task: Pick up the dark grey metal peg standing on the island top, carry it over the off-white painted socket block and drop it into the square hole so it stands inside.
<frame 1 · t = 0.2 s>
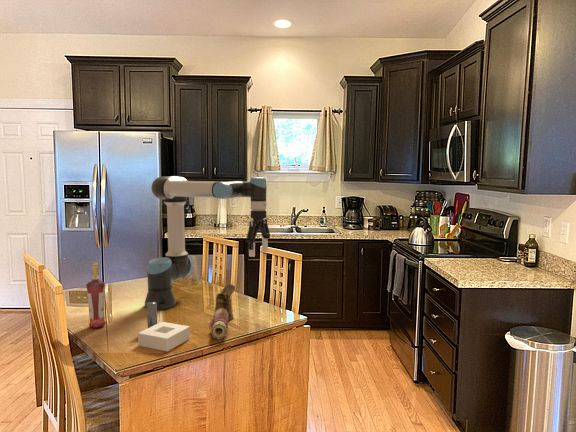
hand: (258, 254, 208), 28 cm above the table, fingers open, 13 cm apart
peg: (152, 330, 184), on the table
liquor: (97, 326, 188), on the table
scroll: (219, 331, 184), on the table
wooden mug: (225, 320, 198), on the table
socket: (164, 341, 171), on the table
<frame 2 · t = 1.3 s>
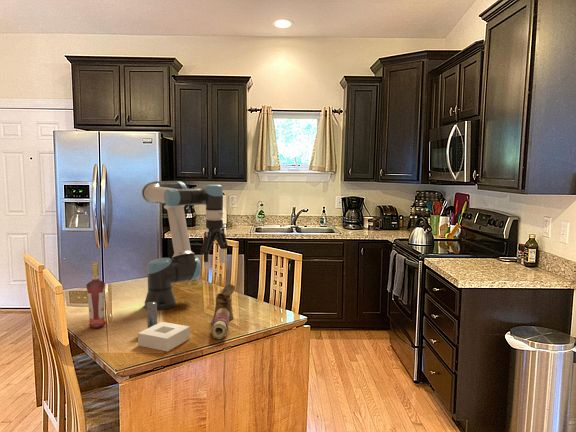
hand: (214, 265, 197), 25 cm above the table, fingers open, 13 cm apart
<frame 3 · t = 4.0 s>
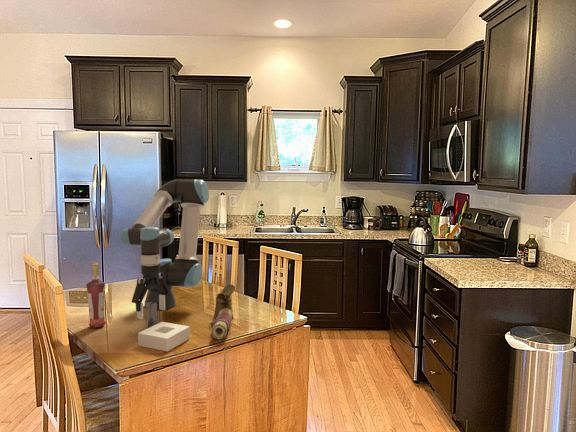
hand: (151, 314, 183), 7 cm above the table, fingers open, 13 cm apart
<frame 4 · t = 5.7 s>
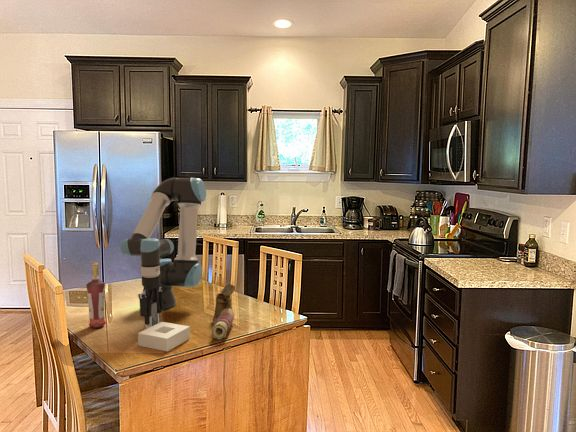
hand: (152, 329, 184), 0 cm above the table, fingers closed on peg, 4 cm apart
peg: (152, 330, 184), on the table, touching gripper
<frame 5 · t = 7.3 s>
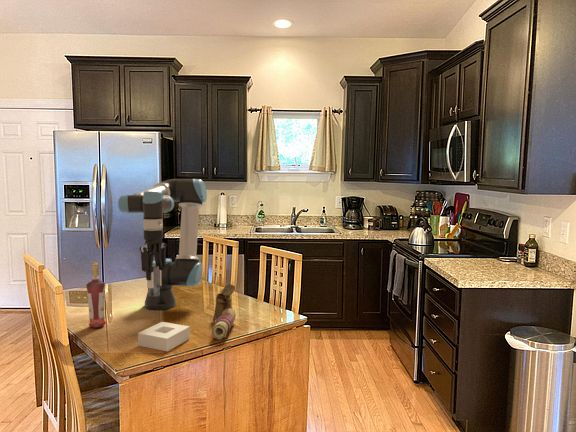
hand: (154, 286, 176), 21 cm above the table, fingers closed on peg, 4 cm apart
peg: (154, 295, 177), point 17 cm above the table, touching gripper
when the fingers open (7 cm above the table, at t = 10.5 s): peg drops 2 cm, resting in socket.
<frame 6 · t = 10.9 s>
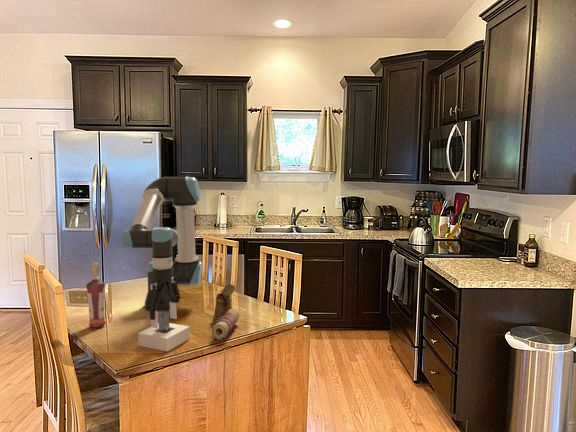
hand: (164, 322, 171), 8 cm above the table, fingers open, 10 cm apart
peg: (164, 341, 171), resting in socket
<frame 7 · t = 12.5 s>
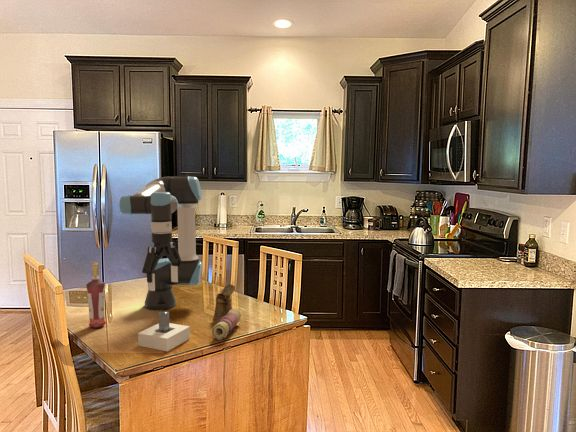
hand: (163, 286, 169), 23 cm above the table, fingers open, 13 cm apart
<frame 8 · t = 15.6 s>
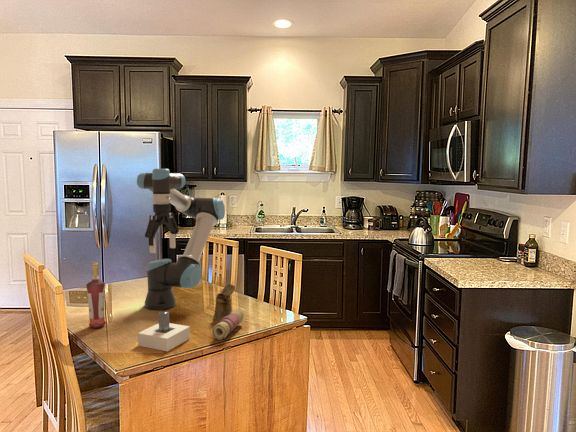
hand: (163, 250, 195), 32 cm above the table, fingers open, 13 cm apart
at the end: peg 0.1 cm off-centre on the socket, point 0.0 cm above the socket's base; peg tilted 0°; the gripper is holding nothing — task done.
